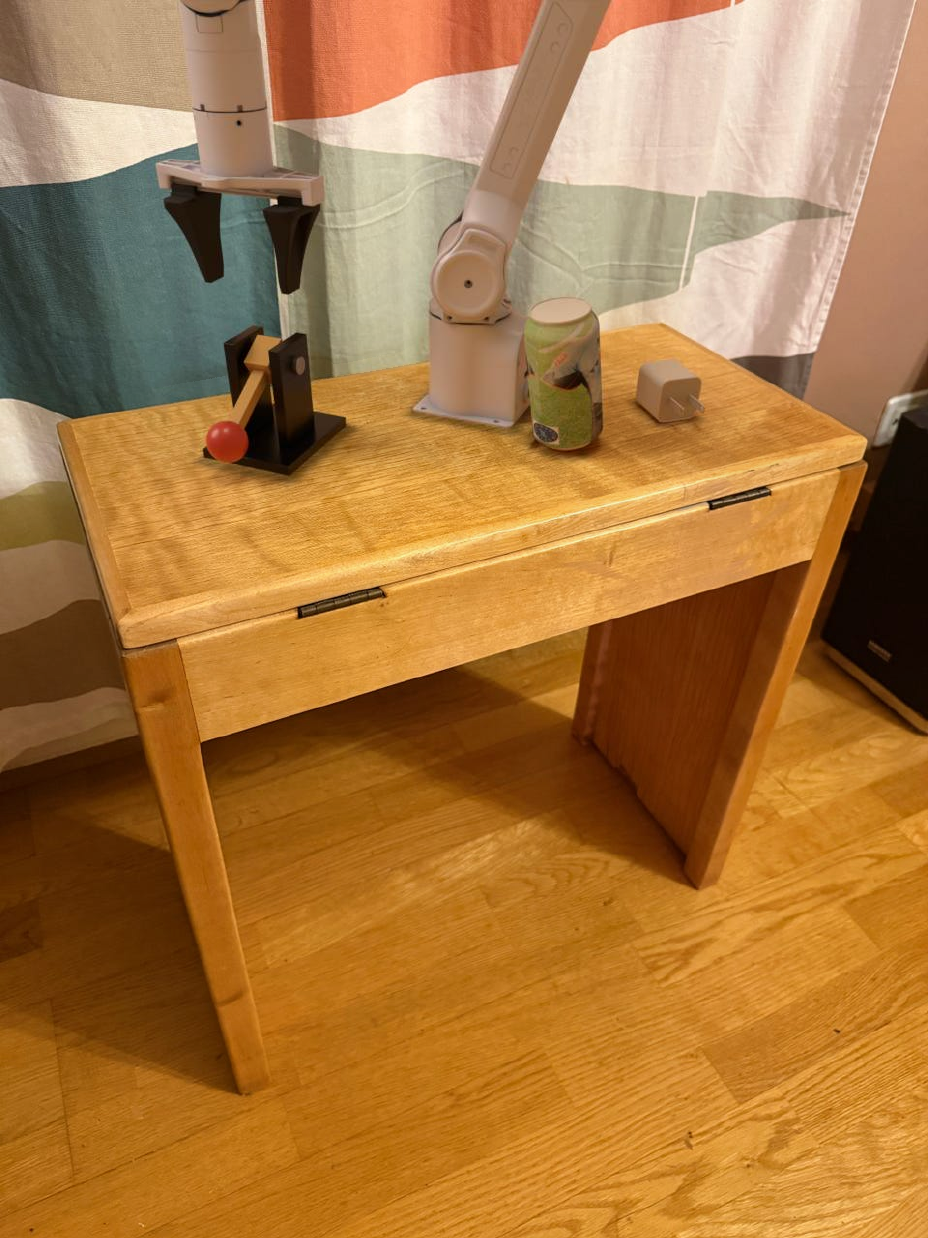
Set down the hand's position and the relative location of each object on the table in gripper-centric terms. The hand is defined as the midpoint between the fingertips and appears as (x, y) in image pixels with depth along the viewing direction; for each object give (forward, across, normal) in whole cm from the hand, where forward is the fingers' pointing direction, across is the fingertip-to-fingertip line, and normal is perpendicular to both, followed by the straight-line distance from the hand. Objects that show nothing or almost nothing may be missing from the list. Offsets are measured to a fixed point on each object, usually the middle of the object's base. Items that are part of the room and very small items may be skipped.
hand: (252, 285), depth 79 cm
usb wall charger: (+11, +36, +11) cm, 39 cm away
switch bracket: (+10, +6, -8) cm, 14 cm away
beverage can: (+11, +28, +2) cm, 30 cm away
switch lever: (+6, +6, -11) cm, 14 cm away
